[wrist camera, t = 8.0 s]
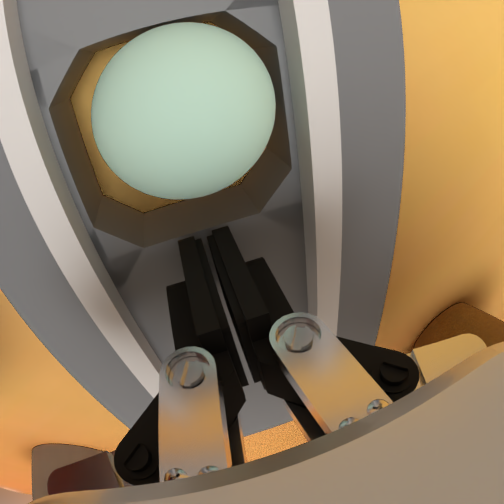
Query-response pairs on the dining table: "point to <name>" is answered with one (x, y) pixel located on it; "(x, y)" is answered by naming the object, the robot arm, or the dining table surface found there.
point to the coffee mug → (54, 463)
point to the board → (207, 207)
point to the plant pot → (463, 326)
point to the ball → (183, 110)
